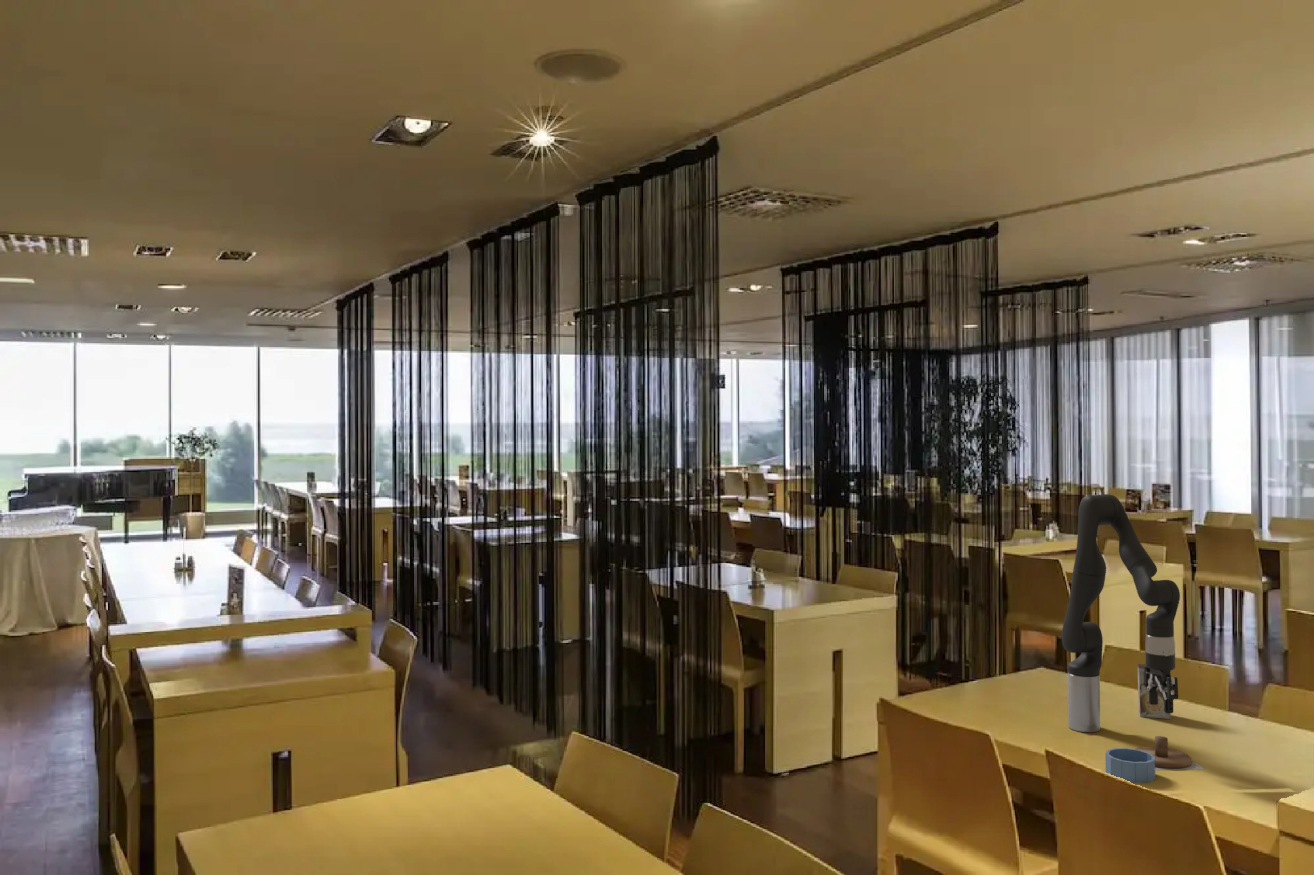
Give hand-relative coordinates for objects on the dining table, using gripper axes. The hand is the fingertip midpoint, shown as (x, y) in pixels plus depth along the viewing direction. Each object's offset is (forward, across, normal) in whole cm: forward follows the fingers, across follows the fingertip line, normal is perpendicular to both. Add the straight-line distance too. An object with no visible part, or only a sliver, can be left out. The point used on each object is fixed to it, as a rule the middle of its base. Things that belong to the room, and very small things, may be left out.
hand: (1161, 708), depth 280 cm
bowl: (+15, +11, -14) cm, 23 cm away
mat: (+15, 0, 0) cm, 15 cm away
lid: (+14, 0, 0) cm, 15 cm away
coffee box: (+15, -44, +20) cm, 51 cm away
